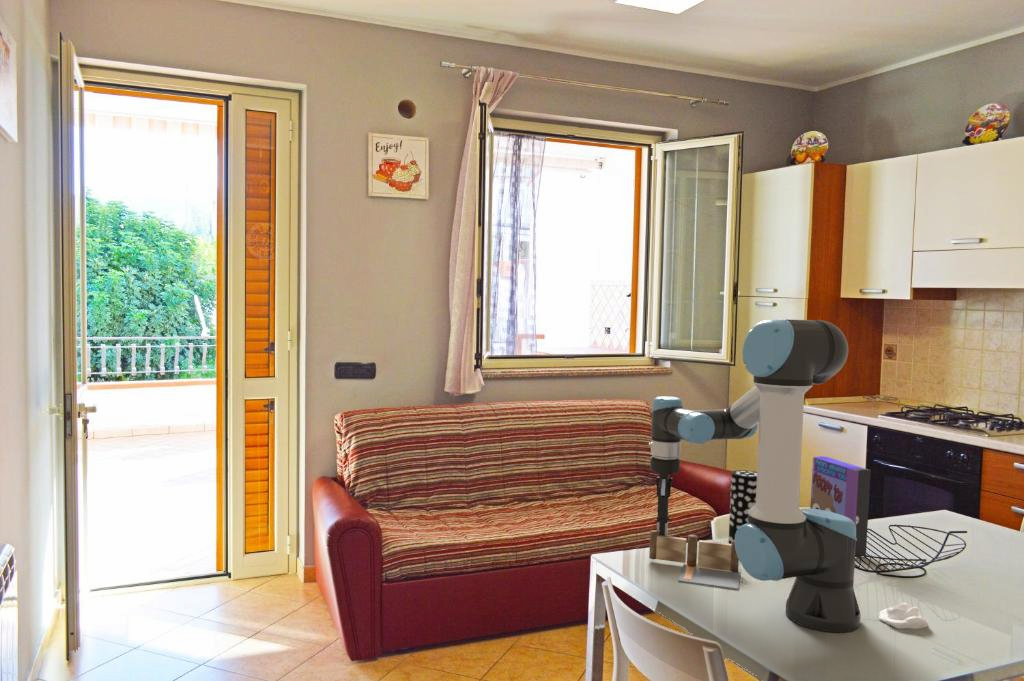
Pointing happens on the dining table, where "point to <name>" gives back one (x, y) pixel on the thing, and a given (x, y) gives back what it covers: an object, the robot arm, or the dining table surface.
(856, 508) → the cereal box
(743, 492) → the white-spotted black cylinder
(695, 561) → the fence fixed
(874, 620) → the dining table surface
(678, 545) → the folding panel
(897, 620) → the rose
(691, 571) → the card
